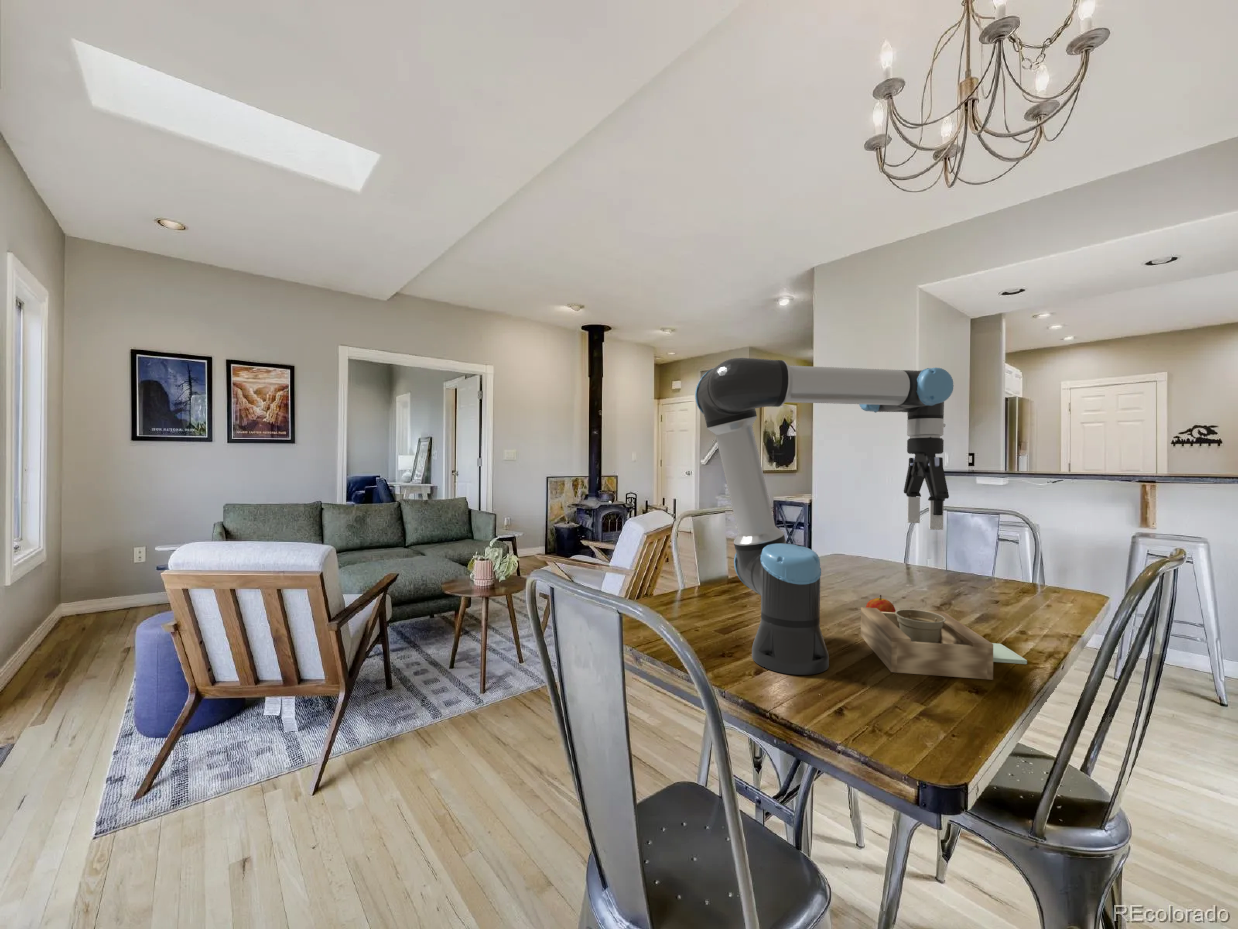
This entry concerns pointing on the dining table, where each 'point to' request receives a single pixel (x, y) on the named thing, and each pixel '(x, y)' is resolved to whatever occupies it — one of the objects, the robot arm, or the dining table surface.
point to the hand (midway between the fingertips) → (924, 526)
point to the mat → (1006, 655)
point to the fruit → (881, 605)
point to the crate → (928, 647)
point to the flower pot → (920, 625)
